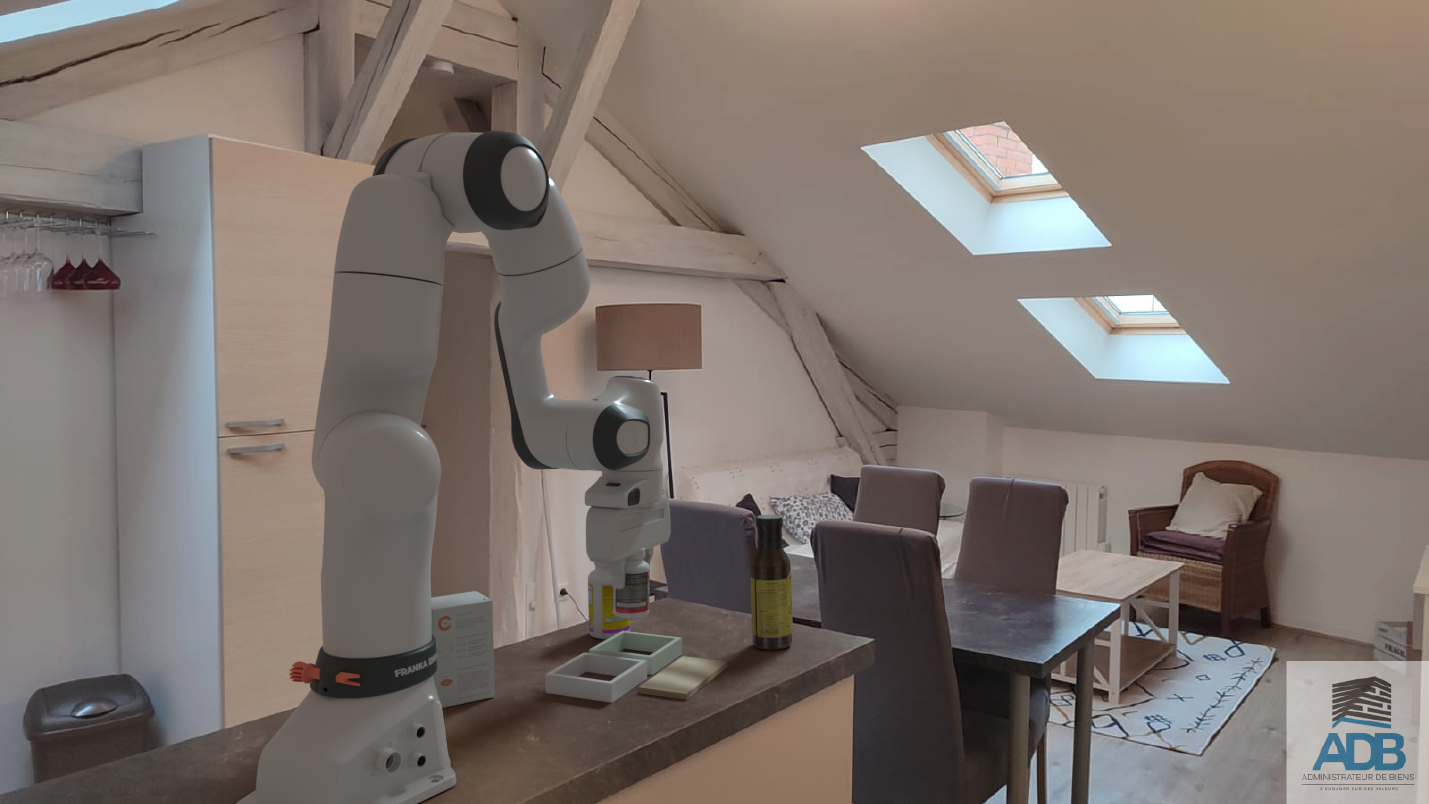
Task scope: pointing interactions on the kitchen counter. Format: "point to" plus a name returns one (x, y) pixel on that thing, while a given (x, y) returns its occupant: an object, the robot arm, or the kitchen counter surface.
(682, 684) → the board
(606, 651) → the sage tray
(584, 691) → the white square frame
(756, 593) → the sauce bottle
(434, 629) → the small box
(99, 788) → the kitchen counter surface
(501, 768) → the kitchen counter surface
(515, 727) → the kitchen counter surface
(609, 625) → the supplement bottle
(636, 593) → the pill bottle
